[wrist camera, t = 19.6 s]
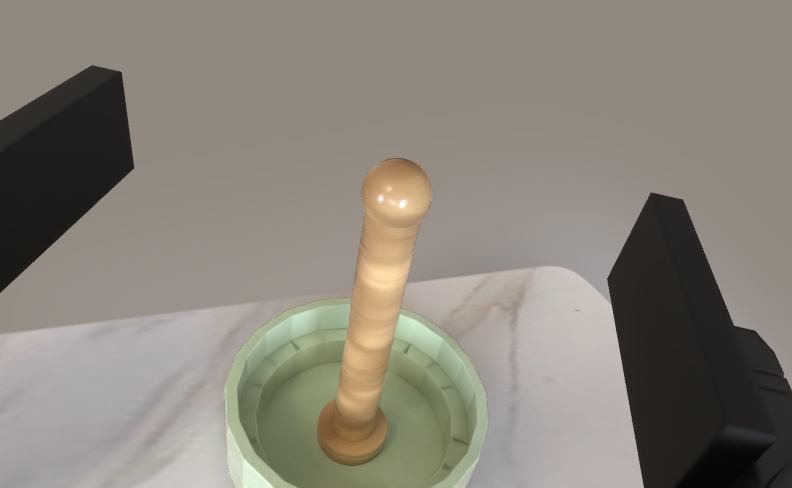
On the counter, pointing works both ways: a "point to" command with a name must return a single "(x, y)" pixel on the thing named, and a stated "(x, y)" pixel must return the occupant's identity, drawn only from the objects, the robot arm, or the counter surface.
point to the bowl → (317, 385)
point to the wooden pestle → (374, 309)
